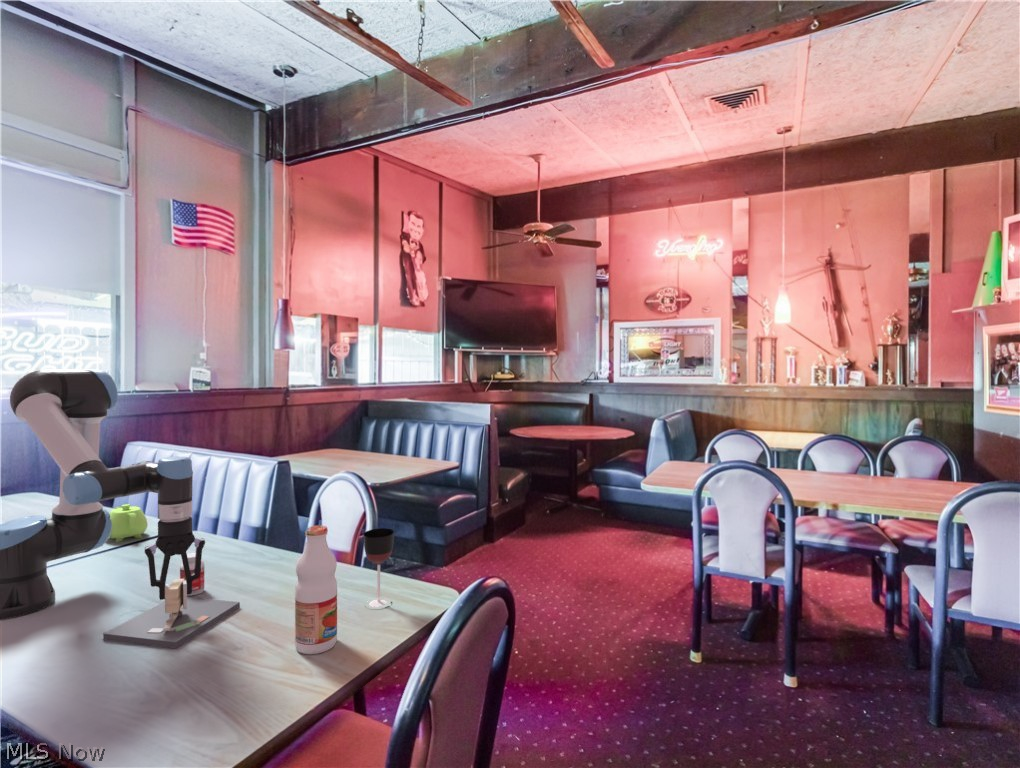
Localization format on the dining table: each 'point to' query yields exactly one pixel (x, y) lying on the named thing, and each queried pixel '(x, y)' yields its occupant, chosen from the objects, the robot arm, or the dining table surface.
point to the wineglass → (378, 553)
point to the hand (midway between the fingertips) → (175, 608)
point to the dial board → (183, 629)
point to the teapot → (127, 522)
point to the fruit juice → (316, 595)
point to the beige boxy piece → (174, 601)
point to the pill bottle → (197, 583)
